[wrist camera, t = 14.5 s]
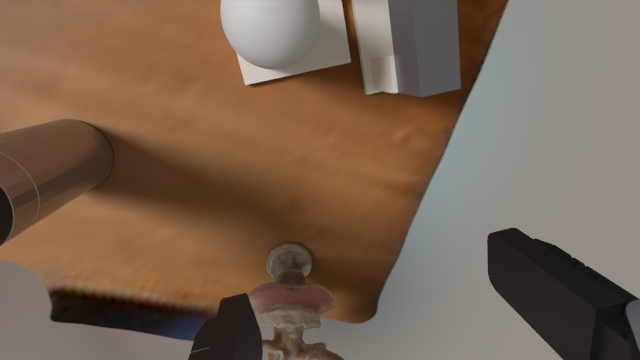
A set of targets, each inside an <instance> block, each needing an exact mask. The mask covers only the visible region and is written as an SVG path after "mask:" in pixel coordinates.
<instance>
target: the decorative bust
mask: <svg viewBox="0 0 640 360" xmlns="http://www.w3.org/2000/svg"><path fill="white" fill-rule="evenodd" d="M311 268H312V258H311V255H310V253H309V252H308V250H307V249H306V248H305V247H303V246H302V245H300V244H298V243H283V244H279V245H277V246H276V247H274V248H273V249H272V250H271V251H270V253H269V255H268V257H267V262H266V269H267V272H268V273H269V275H270V276H271V277H273V278H274V279H276V283H266V284H262V285H260V286H258V287H256V288H255V289H253V290H252V291H251V292H250V293H249V294H248V297H249V300H250V303H251V305H252V308H253V310H254V311H257V312H258V313H260V314H261V319H260V323H261V325H263V326H267V325H268V326H273V327H274V338H273V340H272V341H271V340H262V346H263V351H266V352H268V356H269V360H344V359H343V358H341V357H340V356H339V355H337V354H335V353H333V352H331V351H329V350H327V349H326V345H325V343H315V344H305V343H304V342H303V340H302V336H303V332H304V329H309V328H320V326H321V323H320V316H321V315H323V314H325V313H327V312H329V311H330V310H331V309H333V308H334V303H335V301H334V298H333V296H332V294H331V292H330V291H329V290H328V289H326V288H325V287H323V286H321V285H319V284H307V283H306V281H305V277H306V276H307V275H308V274H309V272H310V271H311Z"/></svg>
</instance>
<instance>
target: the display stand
mask: <svg viewBox="0 0 640 360" xmlns="http://www.w3.org/2000/svg"><path fill="white" fill-rule="evenodd" d="M351 1H352V8H353V15H354V22H355V29H356V36H357V42H358V49H359V56H360V63H361V70H362V77H363V83H364V90H365V94H366V95H369V94H373V93H378V92H382V91H384V92H388V93H393V94H394V93H398V87H397V78H396V69H395V60H394V51H393V43H392V34H391V25H390V16H389V8H388V0H351ZM221 21H222V26H223V29H224V32H225V35H226V37H227V39H228V41H229V42H230V44H231V46H232V47H233V48H234V50H235V51H236V53H237V56H238V60H239V64H240V67H241V71H242V75H243V78H244V82H245V85H248V84H253V83H258V82H262V81H267V80H272V79H276V78H281V77H285V76H290V75H295V74H299V73H304V72H309V71H313V70H318V69H323V68H327V67H332V66H336V65H341V64H346V63H350V62H351V58H350V52H349V45H348V39H347V32H346V26H345V20H344V13H343V7H342V0H221Z"/></svg>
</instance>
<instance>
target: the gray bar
mask: <svg viewBox="0 0 640 360" xmlns="http://www.w3.org/2000/svg"><path fill="white" fill-rule="evenodd" d="M388 8H389V16H390V25H391V34H392V43H393V51H394V60H395V69H396V78H397V87H398V93H400V94H405V95H410V96H415V97H420V98H421V97H426V96H430V95H435V94H439V93H443V92H448V91H452V90H457V89H461V77H460V55H459V34H458V12H457V0H388Z"/></svg>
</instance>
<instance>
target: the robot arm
mask: <svg viewBox="0 0 640 360" xmlns="http://www.w3.org/2000/svg"><path fill="white" fill-rule="evenodd" d="M112 167H113V153H112V150H111V147H110V145H109V143H108V142H107V140H106V139H105V137H104V136H103V135H102V134H101V133H100V132H99V131H97V130H96V129H95V128H93V127H92V126H90V125H88V124H86V123H83V122H81V121H77V120H71V119H67V120H58V121H53V122H49V123H44V124H40V125H35V126H31V127H26V128H22V129H17V130H13V131H9V132H4V133H0V246H1V245H2V244H4V243H6V242H7V241H9V240H10V239H12V238H14V237H15V236H17V235H18V234H20V233H21V232H23V231H25V230H26V229H27V228H29V227H31V226H32V225H34V224H35V223H37V222H39V221H40V220H42V219H43V218H45V217H46V216H48V215H50V214H51V213H53V212H54V211H56V210H58V209H59V208H61V207H62V206H64V205H65V204H67V203H69V202H70V201H72V200H73V199H75V198H77V197H78V196H80V195H81V194H83V193H85V192H86V191H88V190H89V189H91V188H93V187H94V186H96V185H97V184H99V183H100V182H102V181H103V180H104V179H106V178H107V176H108V175H109V174H110V172H111V169H112ZM487 243H488V275H489V279H490V281H491V283H492V285H493V287H494V289H495V290H496V291H497V292H498V293H499V294H500V295H501V296H502V297H503V298H504V299H505V300H506V301H507V302H508V304H510V306H511V307H512V308H514V310H515V311H516V312H517V313H519V315H520V316H521V317H522V318H523V319H524V320H525V321H526V322H527V323H528V324H529V325H530V326H531V327H532V328H533V329H534V330H535V331H536V332H537V333H538V334H539V335H540V336H541V337H542V338H543V339H544V340H545V341H546V342H547V343H548V344H549V345H550V346H551V347H552V348H553V349H554V350H555V351H556V352H557V354H559V356H560V357H561V358H562V359H563V360H640V299H638V298H637V297H635V296H634V295H632V294H631V293H629V292H627V291H626V290H624V289H623V288H621V287H620V286H618V285H616V284H615V283H613V282H612V281H610V280H609V279H607V278H605V277H604V276H602V275H601V274H599V273H598V272H596V271H594V270H593V269H591V268H590V267H588V266H585V265H584V264H583V263H582V262H580V261H579V260H577V259H576V258H572V257H571V255H569V254H568V253H566V252H565V251H563V250H562V249H560V248H558V247H557V246H555V245H552V244H550V243H547V242H544V241H541V240H538V239H532V238H530V237H529V236H527V235H526V234H524V233H523V232H521V231H520V230H518V229H516V228H509V229H505V230H501V231H497V232H493V233H490V234H489V236H488V240H487ZM262 353H263V346H262V337H261V333H260V328H259V326H258V323H257V320H256V317H255V314H254V311H253V308H252V305H251V303H250V300H249V297H248V295H247V294H246V293H243V294H239V295H235V296H231V297H227V298H223V299H222V300H221V302H220V306H219V309H218V313H217V317H216V318H213V319H209V320H207V321H206V322H205V323H204V325H203V326H202V327H201V329H200V330H199V332H198V333H197V334H196V337H195V340H194V343H193V346H192V350H191V354H190V356H189V359H188V360H262Z"/></svg>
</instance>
